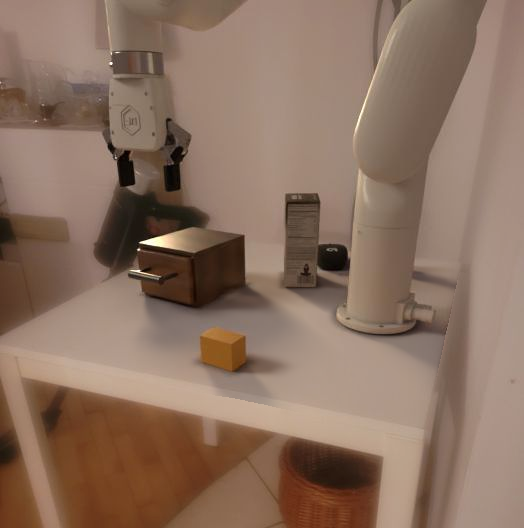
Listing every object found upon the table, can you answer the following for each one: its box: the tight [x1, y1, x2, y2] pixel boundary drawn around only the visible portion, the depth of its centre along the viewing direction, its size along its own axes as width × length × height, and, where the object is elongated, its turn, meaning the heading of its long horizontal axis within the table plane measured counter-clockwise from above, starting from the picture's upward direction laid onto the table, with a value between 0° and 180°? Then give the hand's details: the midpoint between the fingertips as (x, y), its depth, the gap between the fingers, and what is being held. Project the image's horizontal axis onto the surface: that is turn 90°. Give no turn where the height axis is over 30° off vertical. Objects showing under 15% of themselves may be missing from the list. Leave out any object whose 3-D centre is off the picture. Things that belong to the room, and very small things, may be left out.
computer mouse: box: [317, 242, 349, 271], centre depth 107 cm, size 8×12×4 cm, turn 179°
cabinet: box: [138, 226, 247, 308], centre depth 90 cm, size 15×13×10 cm
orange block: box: [199, 326, 247, 372], centre depth 65 cm, size 5×3×4 cm, turn 57°
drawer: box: [127, 248, 195, 304], centre depth 87 cm, size 18×11×8 cm, turn 148°
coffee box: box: [283, 192, 322, 288], centre depth 93 cm, size 9×6×16 cm
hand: (149, 188), depth 80 cm, fingers open, 9 cm apart
